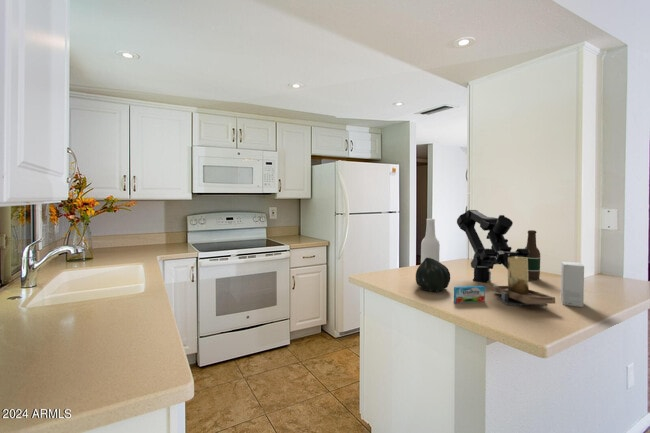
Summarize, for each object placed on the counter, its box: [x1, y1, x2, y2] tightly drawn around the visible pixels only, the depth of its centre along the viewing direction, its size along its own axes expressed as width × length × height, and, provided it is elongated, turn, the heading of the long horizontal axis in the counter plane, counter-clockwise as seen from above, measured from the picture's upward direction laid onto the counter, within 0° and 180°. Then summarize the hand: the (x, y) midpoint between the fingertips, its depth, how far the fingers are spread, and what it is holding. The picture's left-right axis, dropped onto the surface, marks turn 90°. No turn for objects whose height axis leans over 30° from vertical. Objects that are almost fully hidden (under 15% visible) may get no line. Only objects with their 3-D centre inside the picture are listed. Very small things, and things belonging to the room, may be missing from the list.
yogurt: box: [453, 285, 486, 304], centre depth 127 cm, size 12×2×6 cm, turn 95°
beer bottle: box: [525, 229, 541, 281], centre depth 161 cm, size 8×8×24 cm
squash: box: [415, 258, 451, 293], centre depth 145 cm, size 14×15×15 cm
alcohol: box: [420, 218, 441, 265], centre depth 162 cm, size 9×9×30 cm
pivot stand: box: [495, 292, 548, 306], centre depth 127 cm, size 8×15×4 cm, turn 91°
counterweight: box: [507, 257, 530, 295], centre depth 129 cm, size 7×7×14 cm
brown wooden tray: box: [492, 285, 556, 305], centre depth 127 cm, size 23×10×2 cm, turn 1°
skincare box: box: [560, 261, 585, 308], centre depth 125 cm, size 8×7×16 cm
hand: (512, 271), depth 133 cm, fingers closed, pressing on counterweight
